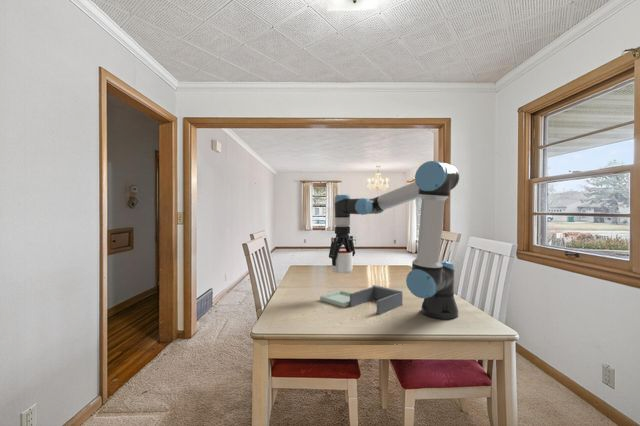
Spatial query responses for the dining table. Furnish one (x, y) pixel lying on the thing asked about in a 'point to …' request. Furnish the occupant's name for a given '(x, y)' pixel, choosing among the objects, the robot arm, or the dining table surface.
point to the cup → (344, 262)
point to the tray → (337, 298)
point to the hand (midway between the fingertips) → (342, 270)
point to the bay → (378, 298)
